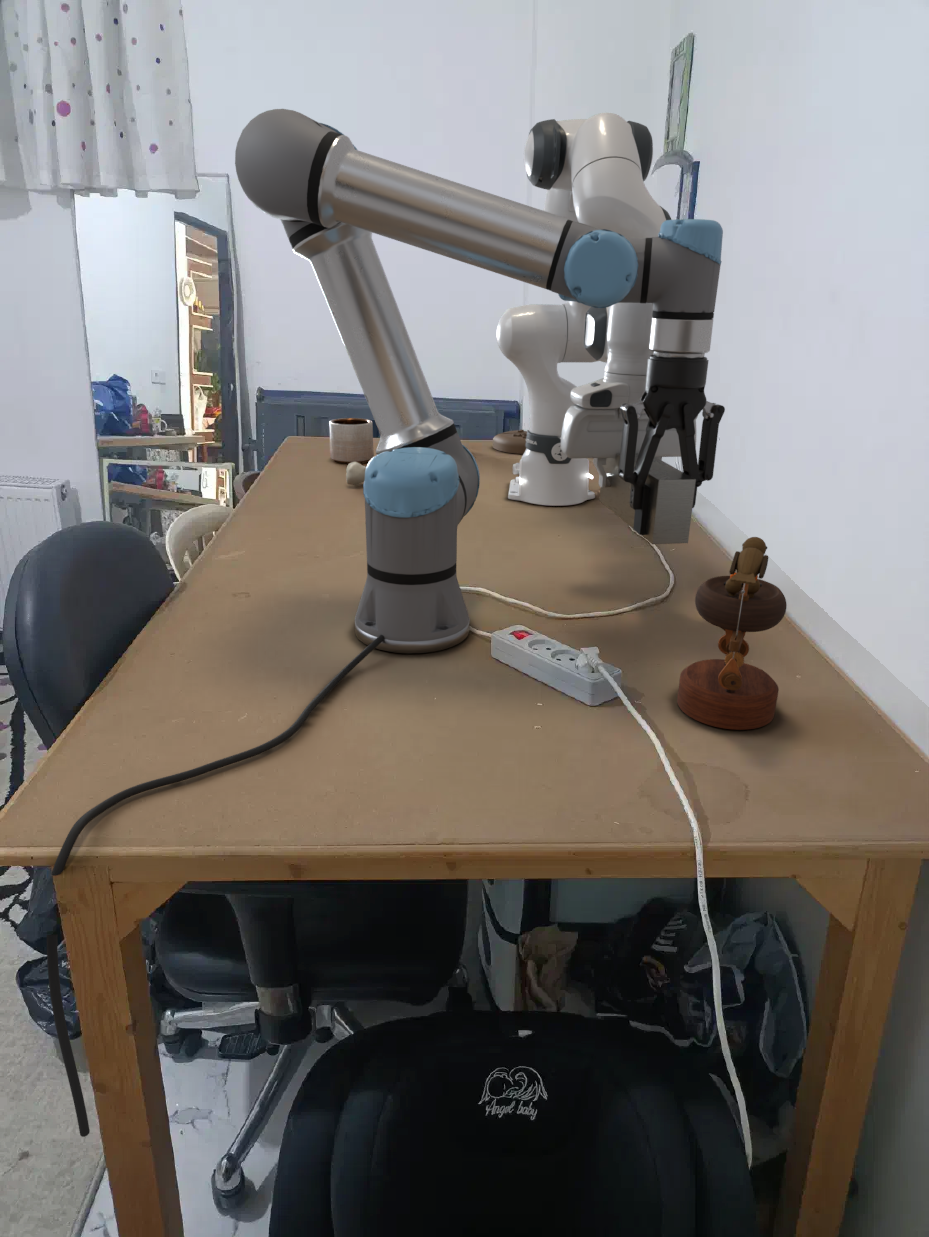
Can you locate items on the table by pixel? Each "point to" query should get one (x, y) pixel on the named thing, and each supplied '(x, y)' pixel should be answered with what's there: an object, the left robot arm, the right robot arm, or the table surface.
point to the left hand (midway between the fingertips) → (659, 531)
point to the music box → (734, 646)
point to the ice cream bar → (511, 441)
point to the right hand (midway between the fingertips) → (624, 486)
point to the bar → (654, 501)
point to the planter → (351, 440)
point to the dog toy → (355, 473)
